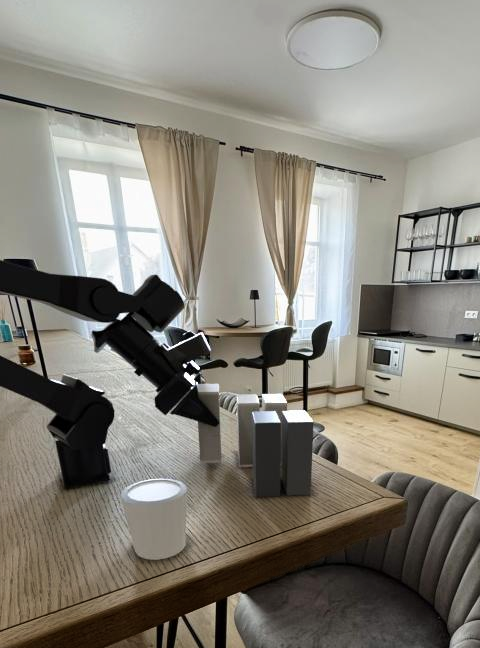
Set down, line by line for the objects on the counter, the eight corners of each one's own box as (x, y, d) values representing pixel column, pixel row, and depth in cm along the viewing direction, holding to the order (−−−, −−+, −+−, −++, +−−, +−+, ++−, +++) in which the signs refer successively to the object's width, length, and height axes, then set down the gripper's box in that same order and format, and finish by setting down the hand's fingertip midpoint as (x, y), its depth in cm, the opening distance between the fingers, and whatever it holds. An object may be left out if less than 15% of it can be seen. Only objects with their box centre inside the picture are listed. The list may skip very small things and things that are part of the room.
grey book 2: (287, 495, 59) (288, 422, 55) (281, 478, 65) (282, 410, 61) (310, 494, 60) (313, 421, 56) (302, 477, 66) (305, 410, 62)
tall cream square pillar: (200, 463, 69) (196, 391, 64) (202, 449, 75) (198, 383, 71) (221, 462, 69) (218, 391, 65) (221, 449, 76) (218, 383, 71)
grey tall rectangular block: (239, 467, 70) (237, 403, 66) (238, 453, 76) (236, 394, 72) (260, 466, 70) (259, 403, 66) (256, 452, 76) (256, 394, 72)
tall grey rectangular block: (255, 497, 59) (255, 423, 55) (252, 479, 65) (251, 411, 61) (280, 496, 59) (280, 422, 55) (275, 478, 65) (275, 411, 61)
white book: (265, 466, 70) (265, 402, 66) (262, 452, 77) (261, 394, 73) (286, 465, 71) (287, 402, 67) (280, 452, 77) (281, 393, 73)
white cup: (202, 536, 49) (198, 482, 46) (169, 568, 43) (163, 508, 40) (153, 526, 51) (147, 474, 48) (115, 555, 45) (106, 497, 42)
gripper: (171, 315, 54) (255, 396, 60) (182, 312, 71) (247, 375, 77) (117, 375, 56) (203, 449, 62) (141, 359, 73) (207, 417, 79)
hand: (217, 419), depth 70 cm, fingers closed on tall cream square pillar, 7 cm apart
